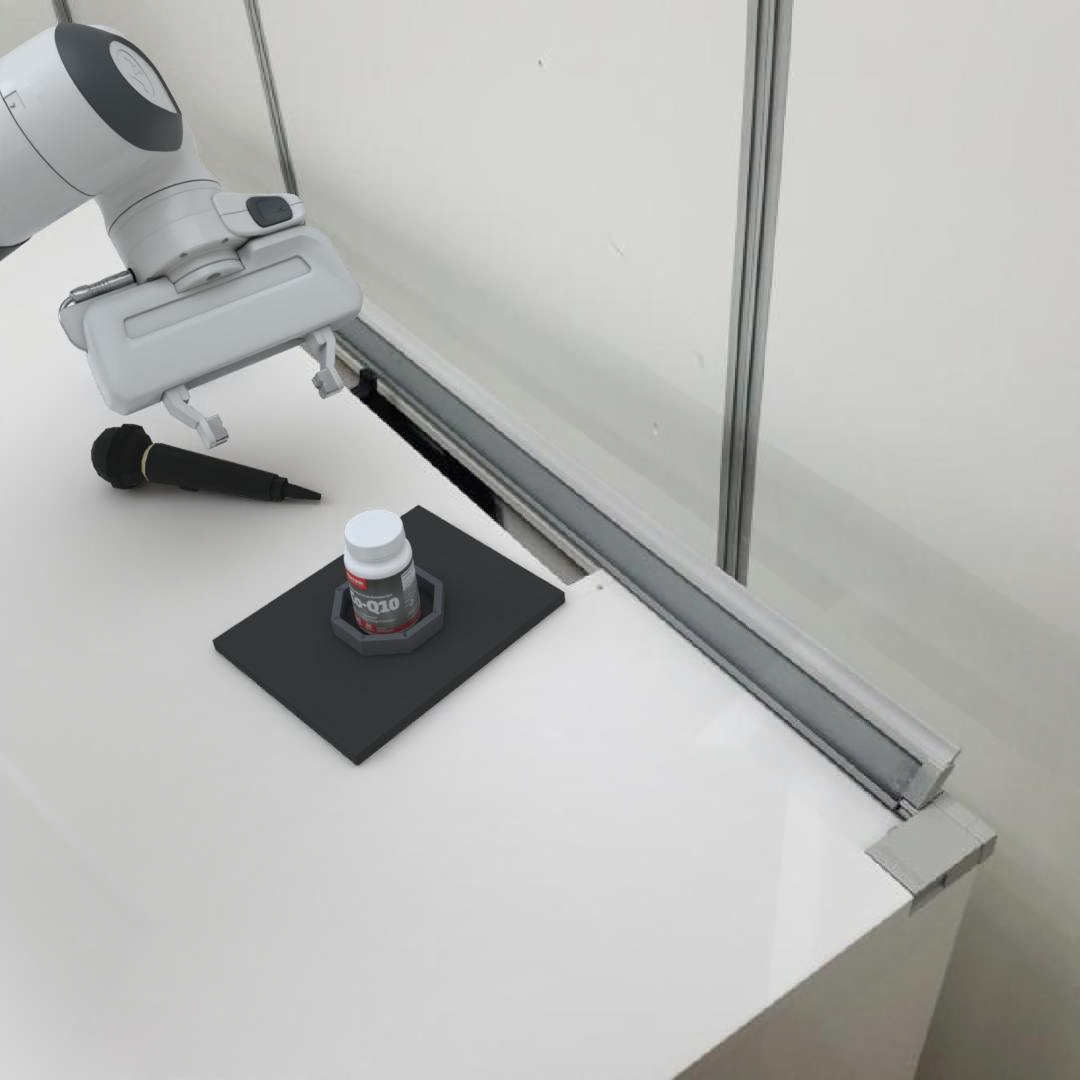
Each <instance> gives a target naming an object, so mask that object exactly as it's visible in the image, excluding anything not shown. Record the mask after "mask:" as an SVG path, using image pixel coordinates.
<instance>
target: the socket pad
mask: <svg viewBox="0 0 1080 1080" xmlns="http://www.w3.org/2000/svg"><path fill="white" fill-rule="evenodd" d="M399 517H400V519H401V520H402V523H403V528H404V532H405V538H406V539H407V540H408V541H409V543H410V545H411V549H412V554H413V561H414V567H415V574H416V580H417V587H418V593H419V599H420V606H421V613H420V617H419V619H418V621H417V622H416V623H415V625H414V626H413V627H412V628H410V629H409V630H407V631H406V632H404V633H393V634H376V635H370V634H368V633H366V632H364V631H363V630H362V629H361V628H360V627H359V626H358V624H357V621H356V618H355V613H354V608H353V603H352V598H351V593H350V588H349V583H348V579H347V574H346V569H345V565H344V553H343V554H341V555H339V556H338V557H337V558H335V559H334V560H332V561H330V562H329V563H327V564H325V565H324V566H322V568H320V569H318V570H317V571H315V572H314V573H312V574H311V575H309V576H307V577H306V578H304V579H303V580H301V581H300V582H298V583H297V584H296V585H294V586H292V587H290V588H289V589H288V590H286V591H285V592H283V593H281V594H280V595H279V596H276V597H275V598H274V599H273V600H271V601H269V602H268V603H266V604H265V605H264V606H262V607H260V608H259V609H257V610H255V612H253V613H252V614H250V615H248V616H247V617H245V618H244V619H242V620H241V621H239V622H237V623H236V624H234V625H233V626H231V627H230V628H228V629H226V631H224V632H222V633H221V634H219V635H218V636H216V637H215V638H213V639H212V640H211V641H212V644H213V647H214V650H215V651H216V652H217V653H219V654H220V655H221V656H222V657H224V658H225V659H226V660H227V661H228V662H230V663H231V664H232V665H233V666H234V667H236V668H237V669H238V670H239V671H241V673H243V674H245V675H246V676H247V677H248V678H249V679H251V680H252V682H254V683H256V685H258V686H259V687H261V689H263V690H264V691H265V692H266V693H267V694H268V695H270V696H271V697H273V699H275V700H276V701H278V702H279V703H280V705H282V706H283V707H285V708H286V709H287V710H288V711H290V712H291V713H292V715H295V716H296V717H297V718H298V719H299V720H300V721H302V723H304V724H306V725H307V727H308V728H310V729H312V730H313V731H314V732H315V733H316V734H318V735H319V736H320V737H321V738H322V739H323V740H325V741H326V742H327V743H328V744H330V746H332V747H334V748H335V749H336V750H338V752H340V754H342V755H343V756H344V757H346V758H347V759H348V760H349V761H351V762H352V763H353V764H355V766H359V765H360V764H362V763H363V762H365V761H366V760H367V759H368V758H370V756H372V755H373V754H374V753H376V752H377V751H378V750H379V749H381V748H382V747H384V745H386V744H387V743H388V742H390V741H391V740H392V739H393V738H394V737H396V736H397V735H399V734H400V733H402V731H403V730H405V729H406V728H407V727H409V726H410V725H411V724H413V723H414V722H415V721H416V720H417V719H419V718H420V717H421V716H423V715H424V714H425V713H427V712H428V711H429V710H430V709H432V707H434V706H436V705H437V704H438V703H439V702H440V701H441V700H443V699H445V698H446V697H447V696H448V695H449V694H451V692H453V691H455V689H457V688H459V686H461V685H462V684H463V683H464V682H466V681H467V680H468V679H469V678H471V677H473V675H475V673H477V672H478V671H480V670H481V669H482V668H484V667H485V666H486V665H487V664H489V663H490V662H491V661H492V660H493V659H495V658H496V657H497V656H498V655H500V654H501V653H502V652H503V651H505V650H506V649H507V648H509V647H510V646H511V645H512V644H514V643H515V642H517V640H519V639H520V638H522V636H524V635H525V634H526V633H528V632H529V631H531V629H533V628H534V627H535V626H536V625H538V624H539V623H540V622H542V621H543V620H544V619H545V618H546V617H548V616H549V615H550V614H552V613H553V612H554V611H555V610H557V609H558V608H559V607H560V606H562V605H563V604H564V603H566V592H565V590H564V591H563V590H562V589H560V588H558V587H557V586H555V585H553V584H552V583H550V582H549V581H547V580H545V579H543V578H542V577H540V576H539V575H537V574H535V573H534V572H532V571H530V570H528V569H527V568H526V567H523V566H522V565H520V564H518V563H517V562H515V561H514V560H512V559H511V558H508V557H507V556H505V555H504V554H502V553H500V552H499V551H497V550H495V549H493V548H492V547H490V546H488V545H487V544H485V543H484V542H482V541H480V540H478V539H477V538H475V537H474V536H472V535H470V534H469V533H467V532H465V531H463V530H462V529H460V528H458V526H457V527H456V525H453V524H451V523H450V522H449V521H447V520H445V519H443V518H442V517H440V516H438V515H436V514H435V513H434V512H431V511H430V510H428V509H427V508H425V507H423V506H422V505H420V504H417V505H416V506H414V507H413V508H411V509H410V510H408V511H406V512H405V513H403V514H402V515H400V516H399Z"/></svg>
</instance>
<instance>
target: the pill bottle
mask: <svg viewBox="0 0 1080 1080" xmlns="http://www.w3.org/2000/svg"><path fill="white" fill-rule="evenodd" d="M344 539H345V544H346V548H345V550H344V553H343V554H344V565H345V569H346V574H347V579H348V583H349V588H350V593H351V598H352V603H353V608H354V613H355V618H356V621H357V624H358V626H359V627H360V628H361V629H362V630H363V631H364V632H366V633H368V634H370V635H376V634H393V633H404V632H406V631H407V630H409V629H410V628H412V627H413V626H414V625H415V623H416V622H417V621H418V619H419V617H420V613H421V606H420V599H419V593H418V587H417V580H416V574H415V567H414V561H413V554H412V549H411V545H410V543H409V541H408V540H407V539H406V538H405V532H404V528H403V523H402V520H401V519H400V516H399V515H398V514H396V513H395V512H393V511H391V510H387V509H369V510H365V511H362V512H360V513H357V514H355V515H354V516H353V517H352V518H350V520H348V522H347V523H346V525H345V527H344Z"/></svg>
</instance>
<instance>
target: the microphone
mask: <svg viewBox="0 0 1080 1080" xmlns="http://www.w3.org/2000/svg"><path fill="white" fill-rule="evenodd" d="M90 460H91V463H92V467H93V469H94V470H95V473H96V474H97V475H98V477H100V478H101V479H102V480H104V481H105V482H108V483H109V484H110V485H111V486H112V488H113V489H118V490H132V489H134V487H135V486H136V485H141V484H143V483H144V482H145V481H146V480H147V482H148V483H153V484H160V485H166V486H171V487H172V486H174V487H178V489H179V490H182V491H187V492H199V491H205V492H213V493H218V494H219V493H220V494H224V495H232V496H238V497H243V498H244V497H245V498H251V499H258V500H264V501H271V502H272V501H278V502H282V501H284V500H285V499H286V498H288V499H294V500H303V501H304V500H305V501H319V502H321V499H322V493H321V492H318V491H314V490H311V489H309V488H307V487H304V486H300V485H297V484H293V483H290V482H289V479H288V477H286V476H280V475H279V474H278V473H274V472H270V471H267V470H264V469H259V468H257V467H252V466H248V465H245V464H241V463H237V462H234V461H230V460H226V459H222V458H219V457H216V456H211V455H207V454H204V453H200V452H196V451H193V450H189V449H185V448H181V447H177V446H174V445H171V444H168V443H167V444H166V443H163V442H153V440H152V438H151V436H150V435H149V434H148V433H147V432H146V431H145V429H144V427H143V425H140V424H135V423H122V424H121V426H112V427H106V428H105V429H104V430H103V431H102V432H101V433H100V434H99V435H98V437H96V438H95V440H94V441H93V443H92V446H91V449H90Z"/></svg>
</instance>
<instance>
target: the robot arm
mask: <svg viewBox="0 0 1080 1080" xmlns="http://www.w3.org/2000/svg"><path fill="white" fill-rule="evenodd" d="M92 199H93V202H95V204H96V205H97V206H98V207H99V211H100V212H101V215H102V218H103V222H104V223H103V224H104V228H105V231H106V234H107V236H108V237H109V239H110V242H111V244H112V246H113V247H114V250H115V251H116V253H117V255H118V257H119V258H120V260H121V262H122V264H123V266H124V268H125V270H122V271H119V272H117V273H114V274H111V275H108V276H107V277H104V278H102V279H101V280H98V281H96V282H93V283H90V284H83V285H79V286H77V287H75V288H73V289H71V290H70V291H69V292H68V296H67V297H66V298H65V299H64V300H63V301H62V302H61V304H60V305H59V308H58V313H57V317H58V322H59V324H60V327H61V328H62V331H63V332H64V333H65V335H66V337H67V339H68V341H69V342H70V343H71V345H72V346H73V347H75V348H76V349H78V350H80V351H82V352H84V354H85V358H86V360H87V364H88V366H89V369H90V372H91V374H92V375H91V376H92V377H93V380H94V382H95V384H96V388H97V389H98V391H99V394H100V396H101V398H102V400H103V402H104V404H105V406H106V407H107V409H108V410H111V411H113V412H115V413H117V414H119V415H122V416H124V417H125V416H129V415H132V414H134V413H137V412H140V411H142V410H144V409H146V408H149V407H152V406H154V405H156V404H159V403H163V405H164V407H165V409H166V411H167V412H168V414H169V415H170V416H171V417H173V418H174V419H176V420H178V421H180V422H181V423H183V424H184V425H186V426H188V427H189V428H190V429H192V430H195V431H196V433H197V434H198V436H199V438H200V440H201V442H202V444H203V445H204V447H205V448H206V450H211V449H214V448H215V447H219V446H220V445H222V444H224V443H227V442H228V440H229V438H230V436H229V432H228V430H227V429H226V427H224V426H223V421H222V419H221V417H220V416H219V414H215V415H213V416H210V417H207V416H205V415H204V414H203V413H201V412H200V411H198V410H197V409H195V408H194V407H192V406H191V405H189V402H190V400H191V395H190V393H189V391H191V390H193V389H195V388H198V387H200V386H203V385H206V384H208V383H210V382H213V381H215V380H218V379H220V378H223V377H225V376H228V375H230V374H232V373H235V372H238V371H240V370H243V369H244V368H247V367H251V366H252V365H255V364H257V363H259V362H262V361H264V360H267V359H269V358H271V357H274V356H277V355H279V354H281V353H284V352H286V351H289V350H291V349H292V350H293V349H294V348H297V347H299V346H302V345H304V344H306V345H307V346H308V348H309V350H310V351H311V353H312V354H313V355H316V354H319V367H320V368H319V371H317V372H316V373H315V374H314V376H313V377H312V379H311V382H312V384H313V386H314V388H315V389H317V390H318V395H319V397H320V398H321V399H322V400H326V399H328V398H330V397H333V396H335V395H337V394H339V393H341V392H342V391H343V390H344V389H345V388H344V382H343V380H342V378H341V376H340V374H339V373H338V371H337V369H336V367H335V365H336V345H337V344H336V342H337V339H336V337H335V335H334V333H333V332H336V331H338V330H340V329H343V328H346V327H348V326H350V325H352V324H353V323H354V321H355V320H356V319H357V318H358V316H359V314H360V313H361V311H362V308H363V304H364V293H363V291H362V289H361V286H360V285H359V283H358V280H357V279H356V277H355V276H354V273H353V271H352V270H351V268H350V267H349V265H348V264H347V262H346V260H345V259H344V258H343V256H342V255H341V254H340V252H339V251H338V249H337V248H336V246H335V245H334V243H333V242H332V241H331V239H330V238H329V237H328V236H327V235H326V234H324V232H322V231H321V230H320V229H318V228H316V227H315V226H311V225H307V224H306V225H305V220H306V217H307V210H306V208H305V206H304V203H303V202H302V200H301V199H300V197H299V196H297V195H296V194H293V193H286V192H282V193H241V192H228V191H225V190H224V189H223V186H222V185H221V183H220V182H219V181H218V179H217V178H216V177H215V175H214V174H212V172H211V171H210V170H208V168H207V167H206V166H205V164H204V162H202V159H201V158H200V154H199V152H198V148H197V144H196V139H195V136H194V133H193V131H192V130H191V128H190V126H189V124H188V122H187V120H186V119H185V117H184V115H183V113H182V111H181V109H180V107H179V105H178V103H177V101H176V99H175V98H174V95H173V94H172V92H171V90H170V88H169V87H168V85H167V83H166V81H165V80H164V78H163V75H162V74H161V73H160V72H159V69H158V68H157V66H155V64H154V62H152V60H151V59H150V58H149V57H148V56H147V55H146V53H145V52H143V51H142V50H141V49H140V48H139V47H138V46H137V45H135V44H134V42H132V40H131V39H130V38H129V37H128V36H126V34H124V33H123V32H121V31H119V30H118V29H116V28H114V27H111V26H108V25H104V24H83V23H76V22H69V21H61V22H59V23H58V24H56V25H54V26H51V27H49V28H46V29H44V30H43V31H40V32H38V33H37V34H36V35H34V36H32V37H31V38H29V39H28V40H26V41H25V42H23V43H21V44H20V45H19V46H17V47H16V48H13V49H12V50H11V51H9V52H8V53H6V54H5V55H3V56H1V58H0V262H2V261H3V260H5V258H7V257H9V256H10V255H11V254H12V253H14V252H15V251H16V250H18V249H19V248H21V247H22V246H23V245H24V244H26V243H27V242H28V241H30V240H31V239H32V238H33V236H35V235H36V234H38V233H39V232H41V231H43V230H45V229H46V228H47V227H49V226H51V225H53V224H54V223H56V222H57V221H59V220H60V219H62V218H64V217H65V216H67V215H68V214H70V213H72V212H74V211H75V210H77V209H78V208H80V207H82V206H83V205H84V204H86V203H88V202H90V201H91V200H92ZM71 303H73V304H72V305H70V304H71ZM69 305H70V306H69Z"/></svg>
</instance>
